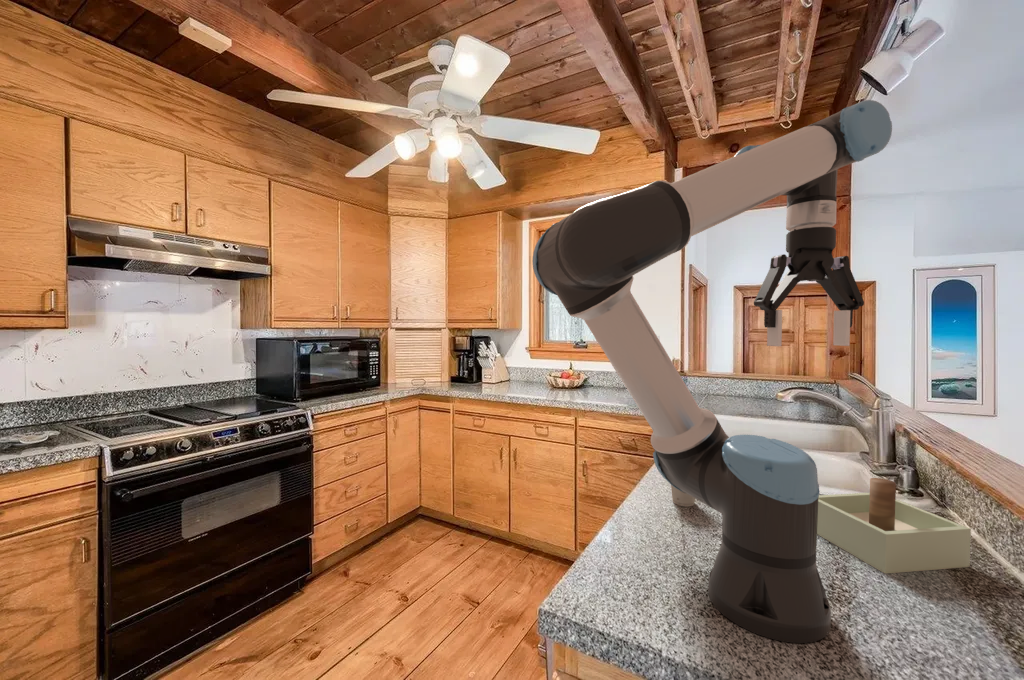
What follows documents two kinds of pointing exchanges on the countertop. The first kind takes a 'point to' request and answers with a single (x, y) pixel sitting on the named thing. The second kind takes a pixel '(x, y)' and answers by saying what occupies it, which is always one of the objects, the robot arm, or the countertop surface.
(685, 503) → the coffee cup
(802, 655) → the countertop surface
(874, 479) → the peg
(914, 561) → the peg box
